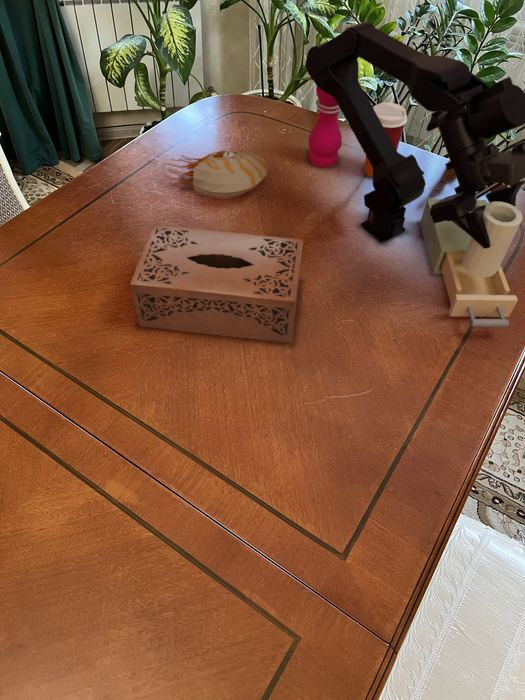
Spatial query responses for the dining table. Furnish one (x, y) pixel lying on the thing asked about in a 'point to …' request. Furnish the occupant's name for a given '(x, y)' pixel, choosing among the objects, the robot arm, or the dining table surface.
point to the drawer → (477, 293)
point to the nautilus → (224, 173)
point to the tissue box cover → (218, 283)
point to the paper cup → (389, 125)
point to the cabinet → (442, 236)
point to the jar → (493, 239)
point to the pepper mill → (325, 132)
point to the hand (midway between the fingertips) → (499, 239)
